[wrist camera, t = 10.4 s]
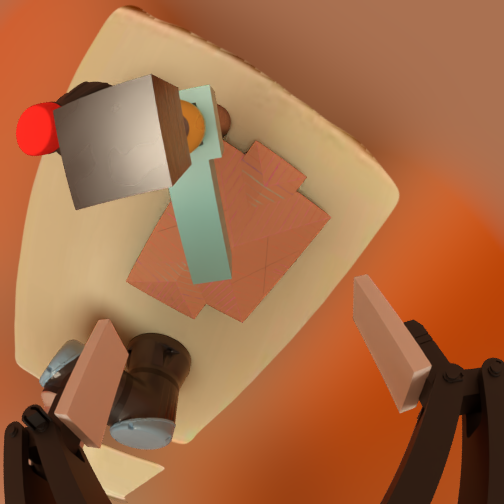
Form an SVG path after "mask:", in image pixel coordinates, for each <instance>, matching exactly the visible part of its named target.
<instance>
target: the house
mask: <svg viewBox="0 0 504 504" xmlns="http://www.w3.org/2000/svg"><path fill="white" fill-rule="evenodd" d="M223 145H224V152H223V155H222V157H221V158H216V159H214V163H215V168H216V174H217V180H218V185H219V190H220V196H221V201H222V207H223V212H224V217H225V222H226V228H227V233H228V238H229V243H230V248H231V254H232V279H228V280H221V281H215V282H208V283H201V284H194V285H193V282H192V279H191V275H190V272H189V268H188V264H187V261H186V257H185V253H184V249H183V245H182V242H181V238H180V234H179V230H178V226H177V222H176V218H175V214H174V209H173V205H172V201H171V202H170V203H169V205H168V207H167V208H166V210H165V212H164V213H163V215H162V217H161V218H160V220H159V222H158V223H157V225H156V227H155V229H154V230H153V232H152V234H151V236H150V237H149V239H148V241H147V243H146V245H145V246H144V248H143V250H142V252H141V254H140V256H139V257H138V259H137V261H136V263H135V265H134V267H133V269H132V271H131V272H130V274H129V276H128V278H127V280H126V282H128V283H129V284H131V285H133V286H134V287H136V288H138V289H140V290H141V291H143V292H145V293H147V294H148V295H150V296H152V297H154V298H156V299H157V300H159V301H161V302H163V303H165V304H166V305H168V306H170V307H172V308H174V309H176V310H177V311H179V312H181V313H183V314H185V315H187V316H189V317H191V318H193V319H195V317H196V316H197V315H198V313H199V312H200V311H201V309H202V308H203V307H204V305H205V304H208V305H210V306H211V307H213V308H215V309H217V310H219V311H221V312H223V313H225V314H227V315H229V316H230V317H232V318H234V319H236V320H238V321H240V322H242V323H243V321H244V320H245V319H246V318H247V317H248V316H249V314H250V313H251V312H252V311H253V310H254V309H255V308H256V306H257V305H258V304H259V303H260V302H261V301H262V299H263V298H264V297H265V296H266V295H267V294H268V293H269V291H270V290H271V289H272V288H273V287H274V285H275V284H276V283H277V282H278V281H279V280H280V278H281V277H282V276H283V275H284V274H285V272H286V271H287V270H288V269H289V268H290V267H291V265H292V264H293V263H294V262H295V261H296V259H297V258H298V257H299V256H300V255H301V253H302V252H303V251H304V250H305V248H306V247H307V246H308V245H309V244H310V242H311V241H312V240H313V239H314V237H315V236H316V235H317V234H318V233H319V231H320V230H321V229H322V228H323V226H324V225H325V224H326V223H327V221H328V220H329V219H330V218H331V217H330V216H329V215H328V214H327V213H325V212H324V211H323V210H321V209H320V208H319V207H317V206H316V205H315V204H313V203H312V202H311V201H309V200H308V199H307V198H305V197H304V196H303V195H301V194H300V193H299V192H297V189H298V188H299V187H300V185H301V184H302V183H303V182H304V180H305V179H306V178H307V177H306V176H305V175H303V174H302V173H301V172H299V171H298V170H297V169H295V168H294V167H293V166H291V165H290V164H289V163H287V162H286V161H285V160H283V159H282V158H280V157H279V156H278V155H276V154H275V153H274V152H272V151H271V150H269V149H268V148H266V147H265V146H264V145H262V144H261V143H259V142H258V141H255V143H254V144H253V145H252V147H251V148H250V149H249V151H248V152H247V153H246V155H245V154H243V153H242V152H240V151H239V150H237V149H236V148H234V147H233V146H231V145H230V144H228V143H227V142H225V141H224V140H223Z"/></svg>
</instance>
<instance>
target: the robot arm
mask: <svg viewBox="0 0 504 504" xmlns="http://www.w3.org/2000/svg"><path fill="white" fill-rule="evenodd" d="M353 320H354V322H355V324H356V325H357V327H358V329H359V331H360V333H361V335H362V337H363V339H364V341H365V343H366V345H367V347H368V349H369V351H370V353H371V354H372V356H373V358H374V360H375V362H376V364H377V366H378V368H379V371H380V372H381V375H382V376H383V379H384V380H385V383H386V385H387V387H388V389H389V391H390V393H391V395H392V397H393V400H394V402H395V404H396V406H397V408H398V410H399V412H400V413H402V412H405V411H407V410H410V409H412V408H415V407H416V405H417V403H418V401H420V402H421V404H422V406H423V407H422V409H421V411H420V413H419V415H418V418H417V419H418V420H417V423H416V426H415V429H414V431H413V434H412V436H411V439H410V442H409V444H408V447H407V449H406V451H405V454H404V456H403V458H402V461H401V463H400V465H399V468H398V470H397V472H396V474H395V476H394V478H393V480H392V482H391V484H390V486H389V488H388V490H387V492H386V494H385V496H384V498H383V500H382V502H381V503H380V504H430V503H431V501H432V498H433V496H434V493H435V491H436V489H437V486H438V483H439V480H440V478H441V475H442V473H443V470H444V467H445V464H446V461H447V458H448V454H449V451H450V448H451V445H452V441H453V438H454V434H455V430H456V426H457V422H458V418H459V415H462V465H461V478H460V489H459V497H458V504H504V362H503V361H502V360H500V359H497V358H490V359H487V360H486V361H485V362H484V363H483V365H482V367H481V368H476V369H465V370H464V369H463V368H462V367H460V366H459V365H456V364H452V363H449V361H448V360H447V358H446V357H445V356H444V354H443V353H442V351H441V350H440V349H439V347H438V346H437V345H436V343H435V342H434V341H433V340H432V338H431V336H430V335H428V332H427V331H426V329H425V328H424V327H423V325H421V324H420V323H418V322H417V321H415V320H411V321H407V322H404V323H403V322H402V321H401V319H400V318H399V316H398V315H397V313H396V312H395V311H394V309H393V308H392V307H391V305H390V304H389V302H388V301H387V300H386V298H385V297H384V296H383V294H382V293H381V292H380V290H379V289H378V287H377V286H376V285H375V283H374V282H373V281H372V280H371V278H370V277H369V276H368V275H367V274H366V275H362V276H357V277H354V305H353ZM125 364H126V368H127V372H126V371H124V367H125ZM190 366H191V358H190V355H189V353H188V351H187V350H186V349H185V347H184V346H183V345H181V344H180V343H179V342H177V341H176V340H174V339H172V338H170V337H167V336H164V335H161V334H153V333H149V334H142V335H139V336H137V337H135V338H134V339H132V340H131V342H130V343H129V345H128V348H127V350H126V349H125V347H124V345H123V343H122V341H121V340H120V338H119V336H118V334H117V332H116V330H115V328H114V326H113V324H112V322H111V321H110V319H102V320H98V322H97V324H96V326H95V327H94V329H93V331H92V333H91V335H90V337H89V339H88V341H87V343H86V345H83V344H82V343H80V342H79V341H77V340H69V341H67V342H66V343H65V344H64V345H63V346H62V348H61V349H60V350H59V351H58V353H57V354H56V355H55V356H54V358H53V359H52V361H51V362H50V363H49V366H48V367H47V368H46V370H45V371H44V372H43V374H42V376H41V378H40V380H39V382H40V384H41V386H42V387H44V390H43V392H42V394H41V397H42V400H43V402H44V405H45V408H44V410H43V409H42V408H41V406H39V405H31V406H29V407H28V408H27V409H26V410H25V411H24V413H23V415H22V421H23V422H24V423H25V424H26V425H27V426H28V427H25V428H24V427H23V426H22V425H21V424H20V423H19V422H17V421H16V422H12V423H11V424H9V425H8V426H7V428H6V430H5V436H4V493H5V504H112V503H111V502H110V500H109V498H108V496H107V495H106V493H105V491H104V490H103V488H102V486H101V484H100V482H99V481H98V479H97V477H96V475H95V473H94V471H93V469H92V467H91V465H90V463H89V461H88V459H87V457H86V455H85V453H84V451H83V446H84V444H85V445H86V446H87V447H94V448H100V447H101V443H102V439H103V436H104V432H105V428H106V425H108V426H110V434H111V436H112V437H113V438H114V439H115V440H116V441H118V442H119V443H121V444H124V445H126V446H129V447H133V448H138V449H159V448H162V447H165V446H166V445H168V444H169V443H170V442H171V440H172V437H173V432H174V428H175V419H176V411H177V403H178V394H179V389H180V387H181V386H182V384H183V382H184V381H185V379H186V377H187V376H188V374H189V371H190Z"/></svg>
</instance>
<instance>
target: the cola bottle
mask: <svg viewBox="0 0 504 504" xmlns="http://www.w3.org/2000/svg"><path fill="white" fill-rule="evenodd" d="M111 86H112V85H109V84H108V83H102V82H83V83H81V84H79V85H78V86H76V87H75V88H74V89H72V90H71V91H70V92H69V93H66V94H64V95H63V96H62V97H60V98H59V99H58V100H57V102H46V103H40V104H36V105H33V106H31V107H29V108H28V109H27V110H26V111H25V112H24V113H23V114H22V115H21V117H20V119H19V121H18V124H17V130H16V137H17V142H18V145H19V147H20V148H21V150H22V151H23V152H24V153H26V154H27V155H31V156H39V155H45V154H51V153H54V152H56V151H57V153H58V154H59V155H61V152H60V147H59V142H58V137H57V132H56V126H55V121H54V115H53V110H55V109H57V108H59V107H61V106H64V105H66V104H68V103H70V102H73V101H75V100H77V99H80V98H82V97H85V96H87V95H90V94H92V93H95V92H98V91H100V90H103V89H106V88H109V87H111Z"/></svg>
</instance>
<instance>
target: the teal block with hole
mask: <svg viewBox="0 0 504 504" xmlns="http://www.w3.org/2000/svg"><path fill="white" fill-rule="evenodd" d="M179 96H180V100H184V101H187V102H189V103H192V104H193V105H195V106H196V107H197V108H198V109H199V110H200V111H201V112H202V114H203V116H204V119H205V122H206V132H205V136H204V138H203V141H202V142H201V144H200V145H199V146H198V147H197V148H196V149H195V150H194V151H193V152H192V153H190V157H191V162H192V165H191V166H190V167H189V168H188V169H187V170H186V172H185V173H184V174H183V175H182V176H181V177H180V178H179V180H178V181H177V182H176V183H175V184H174V186H173V187H169V192H170V197H171V201H172V205H173V209H174V214H175V218H176V222H177V226H178V230H179V234H180V238H181V242H182V245H183V249H184V253H185V257H186V261H187V264H188V268H189V272H190V275H191V279H192V282H193V285H194V284H201V283H208V282H215V281H221V280H228V279H232V254H231V248H230V243H229V238H228V233H227V228H226V222H225V217H224V212H223V207H222V201H221V196H220V190H219V185H218V180H217V174H216V168H215V163H214V159H216V158H221V157H222V155H223V152H224V145H223V139H222V133H221V127H220V121H219V115H218V109H217V103H216V97H215V92H214V90H213V89H212V87H211V86H210V85H204V86H199V87H194V88H190V89H185V90H181V91H179Z"/></svg>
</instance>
